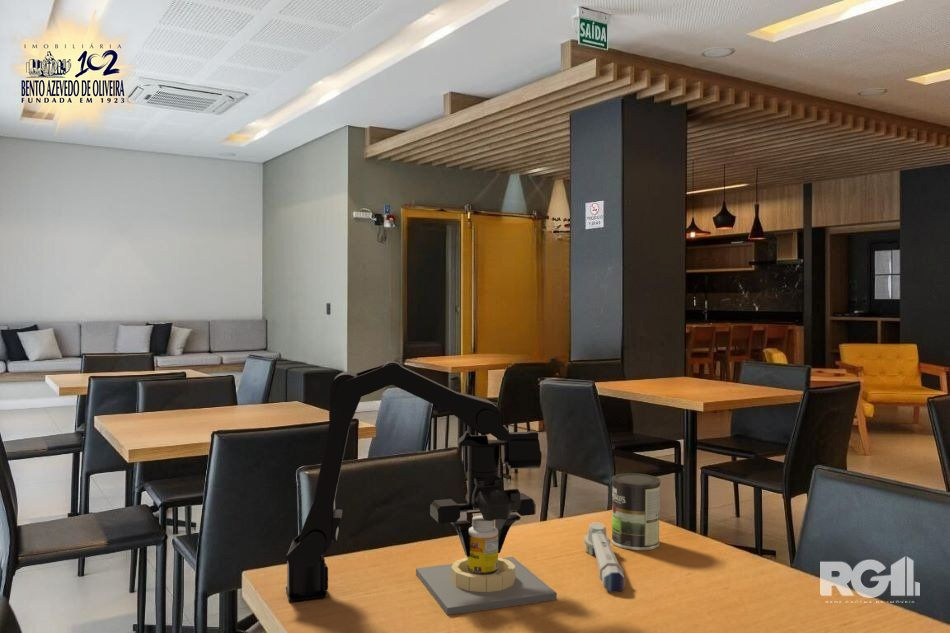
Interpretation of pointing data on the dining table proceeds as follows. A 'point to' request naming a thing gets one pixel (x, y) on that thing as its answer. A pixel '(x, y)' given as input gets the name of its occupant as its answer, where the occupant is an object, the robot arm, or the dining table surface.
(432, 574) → the grey board with ring
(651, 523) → the coffee can
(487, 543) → the supplement bottle
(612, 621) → the dining table surface
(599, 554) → the grey blue-tipped handheld tool
